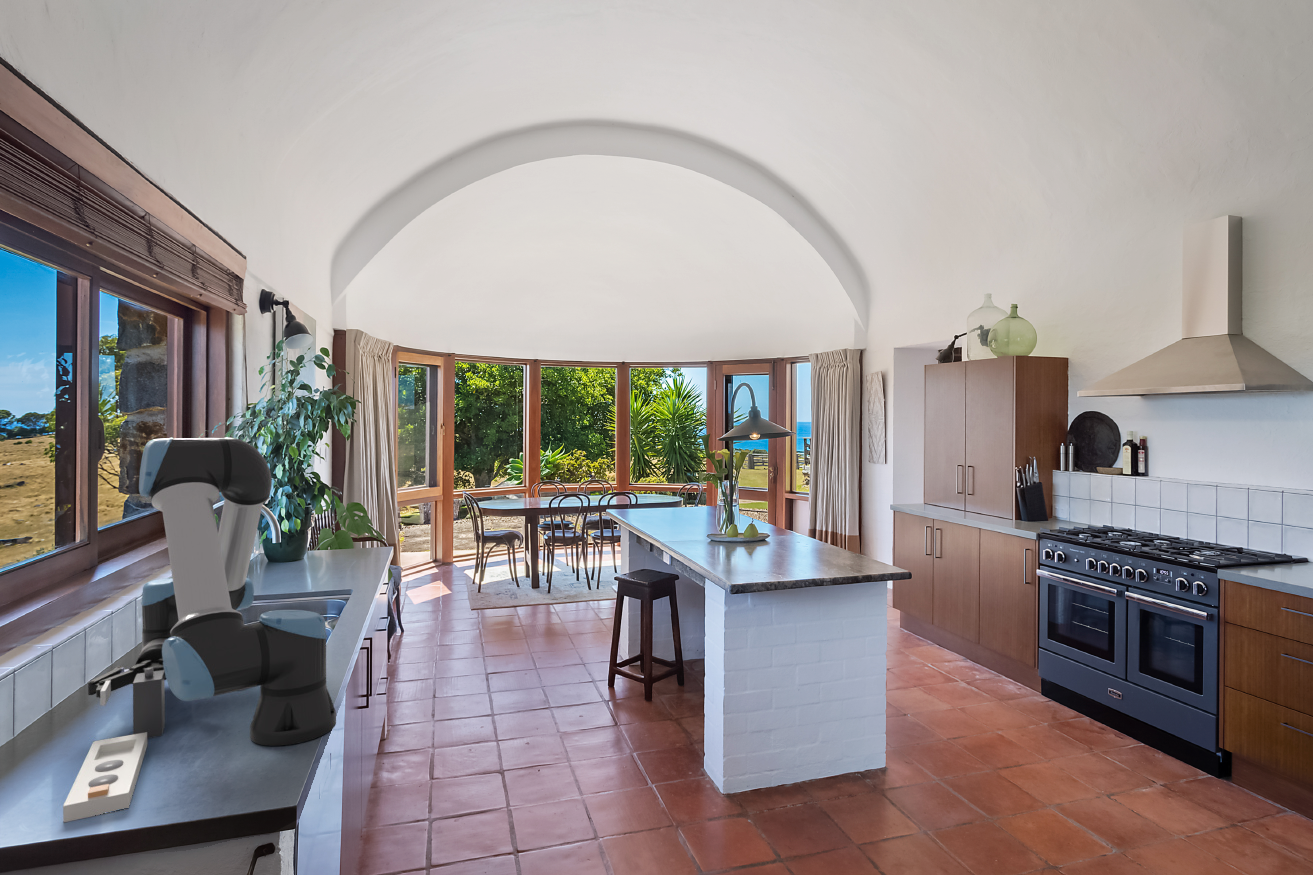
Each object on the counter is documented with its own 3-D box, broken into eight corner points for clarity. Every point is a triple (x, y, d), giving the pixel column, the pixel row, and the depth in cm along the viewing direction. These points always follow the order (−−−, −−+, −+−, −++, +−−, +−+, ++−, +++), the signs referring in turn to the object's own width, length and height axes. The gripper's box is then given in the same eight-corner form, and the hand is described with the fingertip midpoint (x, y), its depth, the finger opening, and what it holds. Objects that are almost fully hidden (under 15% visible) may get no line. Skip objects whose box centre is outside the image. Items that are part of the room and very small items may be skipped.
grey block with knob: (137, 729, 143) (136, 666, 143) (164, 724, 145) (164, 662, 145) (133, 740, 137) (132, 675, 137) (162, 735, 140) (161, 671, 140)
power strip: (93, 754, 131) (93, 736, 131) (147, 745, 135) (147, 727, 135) (63, 822, 109) (63, 800, 109) (128, 808, 113) (128, 787, 113)
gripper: (225, 668, 163) (223, 698, 144) (85, 688, 150) (64, 724, 132) (224, 635, 163) (223, 661, 144) (85, 652, 150) (63, 683, 132)
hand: (147, 691), depth 138 cm, fingers open, 13 cm apart
